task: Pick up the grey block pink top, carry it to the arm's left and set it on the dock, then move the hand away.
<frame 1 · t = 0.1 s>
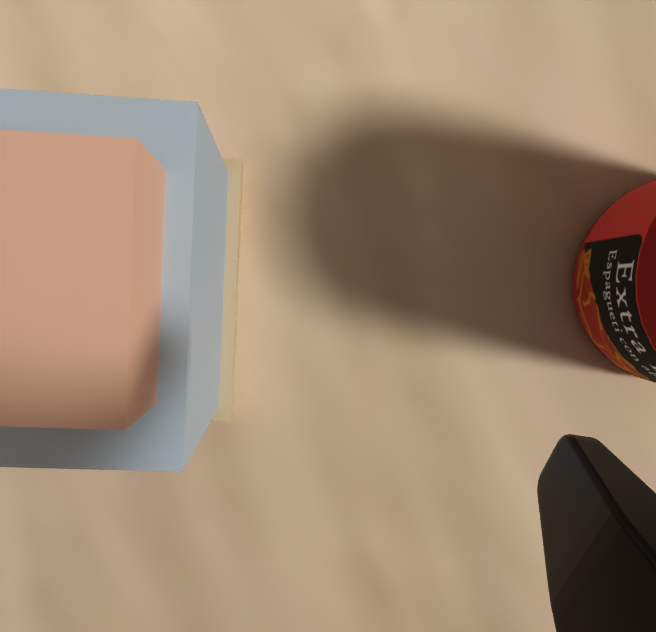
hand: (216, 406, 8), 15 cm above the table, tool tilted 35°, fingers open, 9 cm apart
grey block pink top: (159, 287, 23), on the table
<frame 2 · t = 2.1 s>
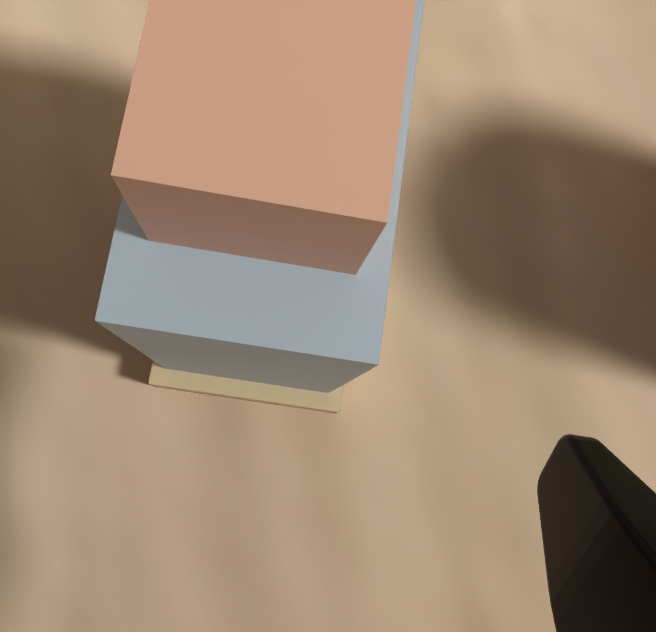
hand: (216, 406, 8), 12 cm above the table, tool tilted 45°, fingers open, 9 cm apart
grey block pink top: (269, 261, 20), on the table
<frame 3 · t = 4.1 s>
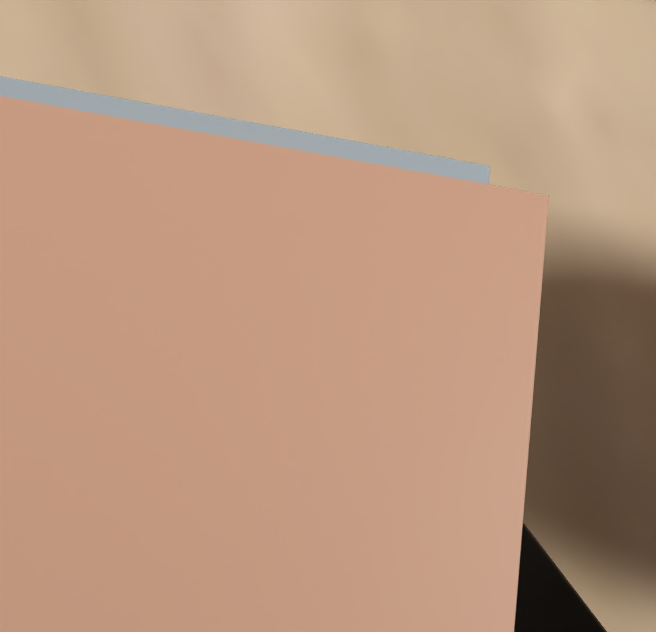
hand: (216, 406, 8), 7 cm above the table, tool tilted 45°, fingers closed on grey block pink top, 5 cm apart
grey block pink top: (225, 478, 14), on the table, touching gripper
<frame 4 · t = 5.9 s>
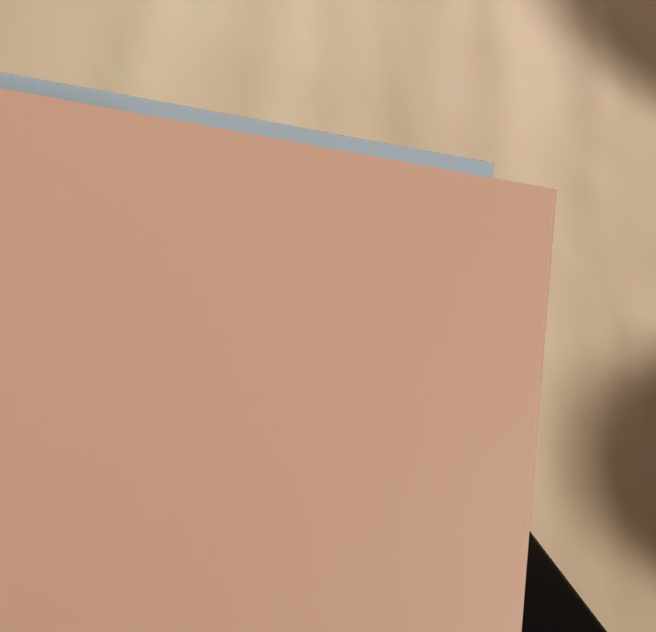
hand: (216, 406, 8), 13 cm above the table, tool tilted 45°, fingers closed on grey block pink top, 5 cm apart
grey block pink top: (227, 476, 14), point 7 cm above the table, touching gripper
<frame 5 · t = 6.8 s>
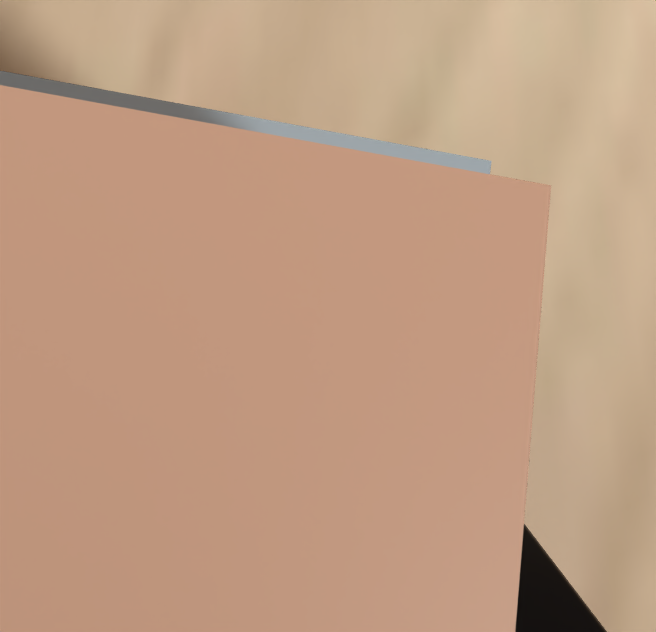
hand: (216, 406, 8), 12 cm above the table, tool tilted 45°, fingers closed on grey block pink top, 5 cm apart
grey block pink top: (225, 475, 14), point 6 cm above the table, touching gripper
when the fingers open (10 cm above the table, at t = 7.6 s): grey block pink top drops 1 cm, resting on dock.
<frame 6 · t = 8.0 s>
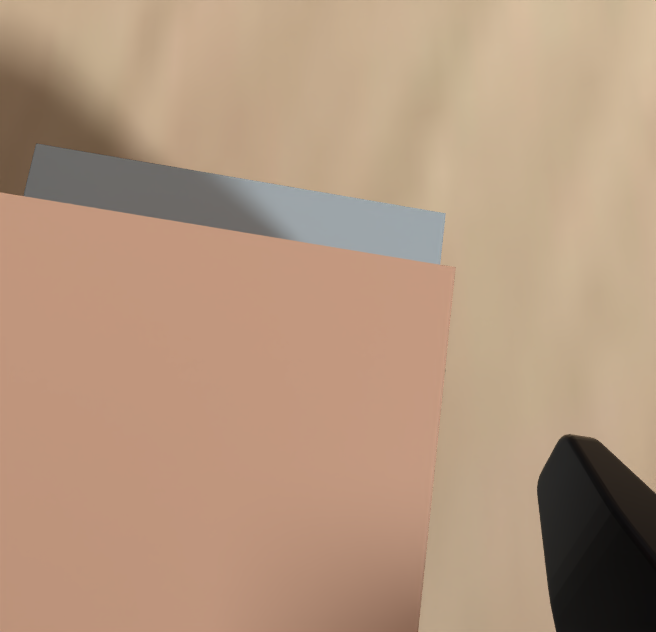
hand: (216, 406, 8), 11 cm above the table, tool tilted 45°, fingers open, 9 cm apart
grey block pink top: (228, 472, 16), point 2 cm above the table, touching dock
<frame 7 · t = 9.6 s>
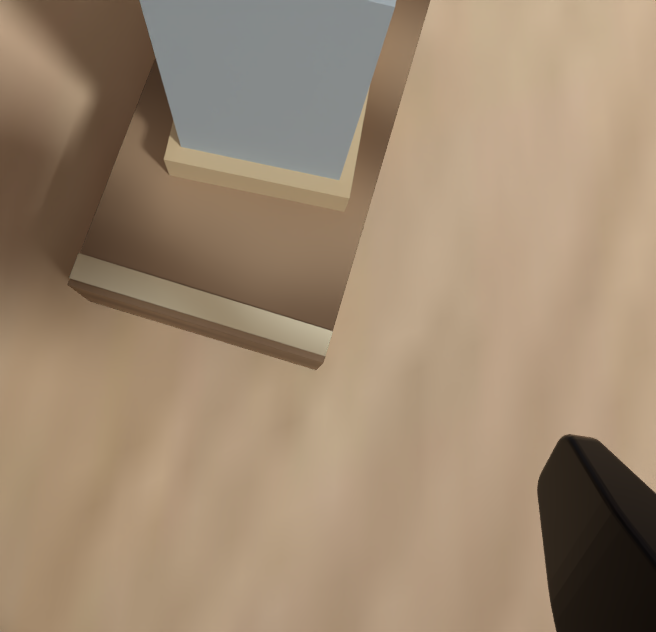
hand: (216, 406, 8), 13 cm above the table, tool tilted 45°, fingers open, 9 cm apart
dock: (265, 153, 23), on the table
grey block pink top: (284, 66, 21), point 2 cm above the table, touching dock
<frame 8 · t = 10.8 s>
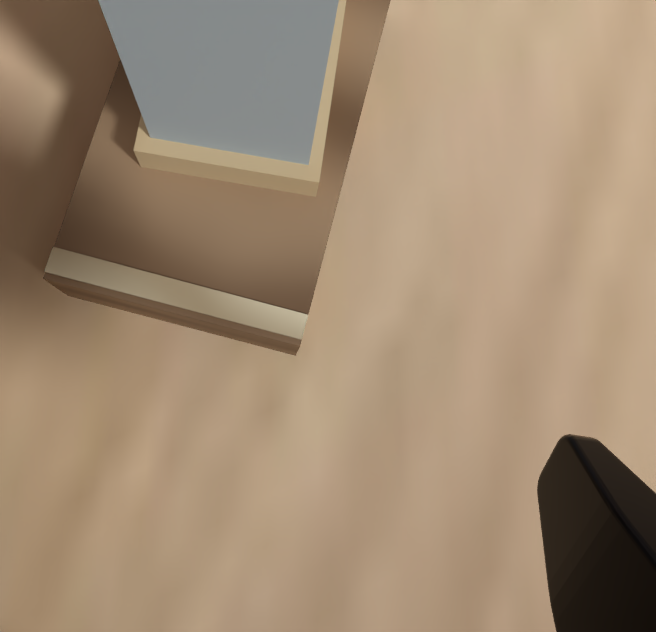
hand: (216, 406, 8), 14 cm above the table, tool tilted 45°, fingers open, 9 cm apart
dock: (237, 143, 23), on the table
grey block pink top: (251, 56, 21), point 2 cm above the table, touching dock
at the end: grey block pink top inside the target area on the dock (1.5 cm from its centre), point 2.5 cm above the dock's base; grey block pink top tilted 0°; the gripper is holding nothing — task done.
